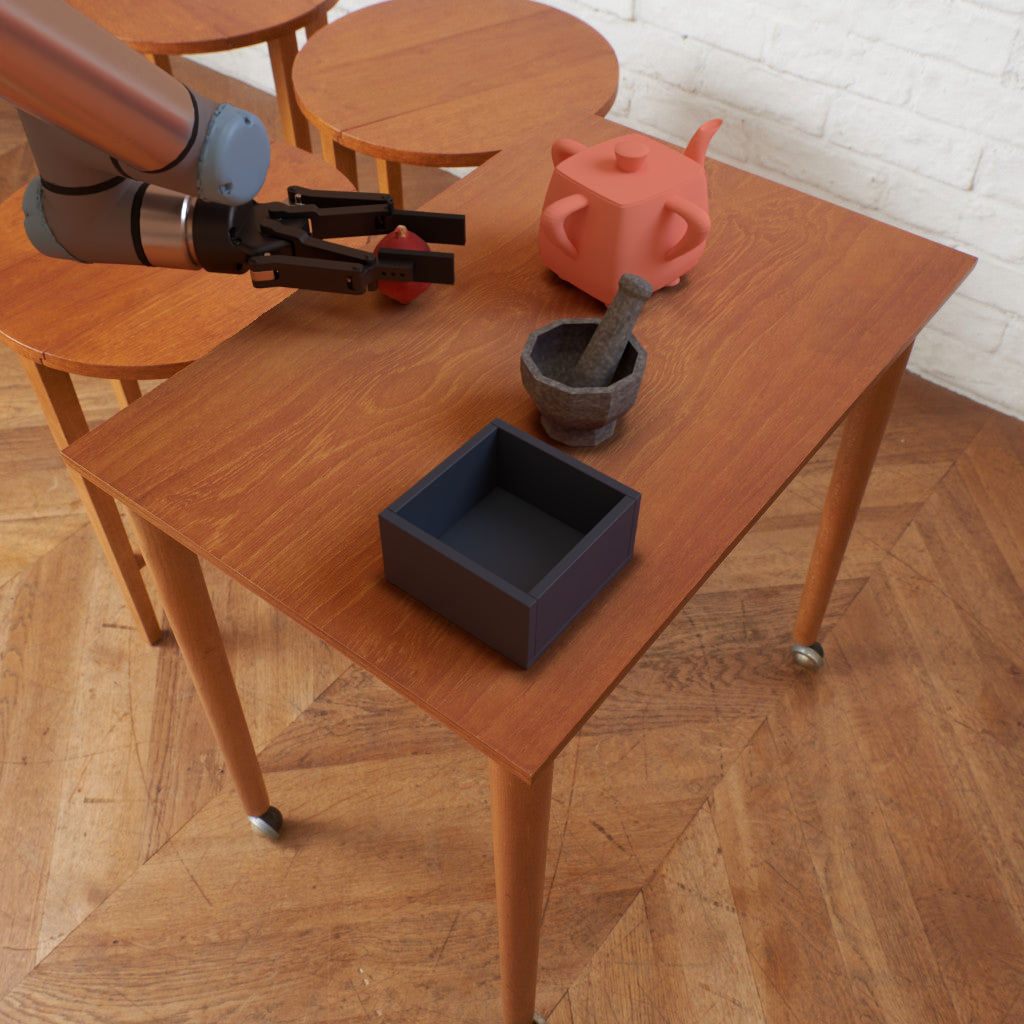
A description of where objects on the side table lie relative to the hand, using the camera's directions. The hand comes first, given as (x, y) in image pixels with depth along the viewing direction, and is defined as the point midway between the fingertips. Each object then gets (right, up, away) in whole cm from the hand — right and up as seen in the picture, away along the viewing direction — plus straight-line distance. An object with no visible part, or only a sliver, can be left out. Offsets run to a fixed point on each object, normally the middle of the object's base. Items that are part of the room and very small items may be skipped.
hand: (459, 249), depth 92 cm
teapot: (+16, 0, +9) cm, 18 cm away
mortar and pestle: (+11, -16, -6) cm, 20 cm away
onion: (-5, -4, +5) cm, 8 cm away
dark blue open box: (+5, -27, -18) cm, 33 cm away
